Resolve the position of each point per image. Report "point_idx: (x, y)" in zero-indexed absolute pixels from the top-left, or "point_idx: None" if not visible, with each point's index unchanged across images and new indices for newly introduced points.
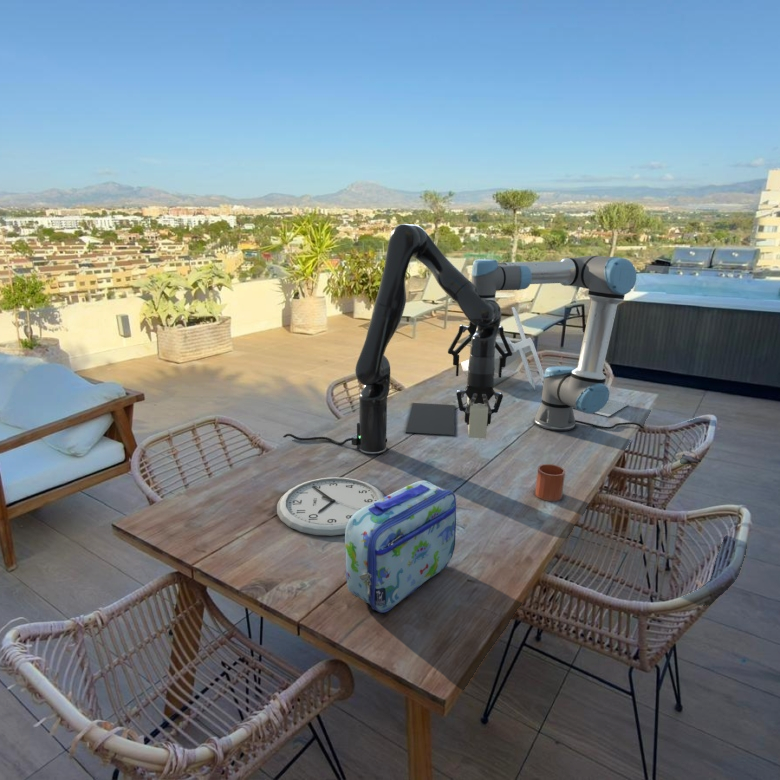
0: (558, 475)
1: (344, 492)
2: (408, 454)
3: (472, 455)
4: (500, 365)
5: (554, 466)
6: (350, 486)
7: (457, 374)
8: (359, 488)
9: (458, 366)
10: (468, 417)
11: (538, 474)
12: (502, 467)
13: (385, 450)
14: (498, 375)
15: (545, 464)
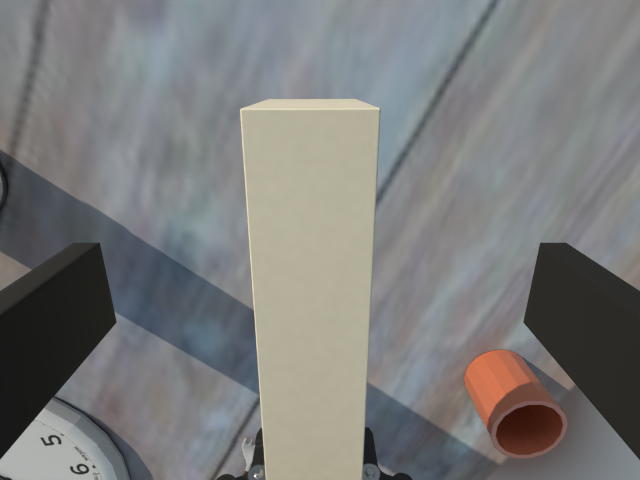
0: (535, 456)
1: (11, 447)
2: (94, 195)
3: None
4: (622, 421)
5: (547, 405)
6: None
7: (98, 332)
8: (37, 429)
9: (49, 395)
10: None
11: (486, 428)
12: (406, 245)
13: (5, 188)
14: (537, 293)
15: (523, 405)
